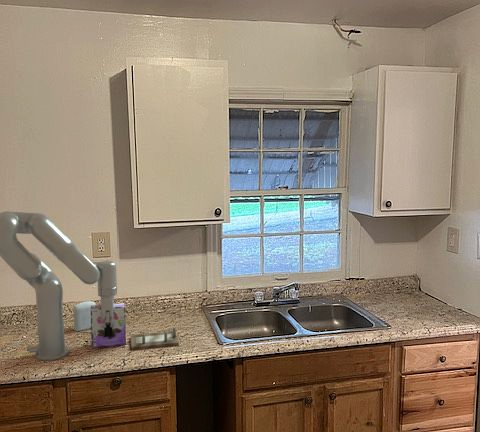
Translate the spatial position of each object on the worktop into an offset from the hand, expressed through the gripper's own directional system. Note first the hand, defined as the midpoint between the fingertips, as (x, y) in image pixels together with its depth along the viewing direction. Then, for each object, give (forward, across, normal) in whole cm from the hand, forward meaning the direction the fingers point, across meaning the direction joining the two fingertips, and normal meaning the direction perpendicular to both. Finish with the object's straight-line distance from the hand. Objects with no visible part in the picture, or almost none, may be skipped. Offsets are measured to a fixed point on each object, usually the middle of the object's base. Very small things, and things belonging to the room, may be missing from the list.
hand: (108, 333), depth 203 cm
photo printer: (+5, -23, -10) cm, 26 cm away
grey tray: (+5, +2, +18) cm, 19 cm away
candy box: (+5, 0, 0) cm, 5 cm away
